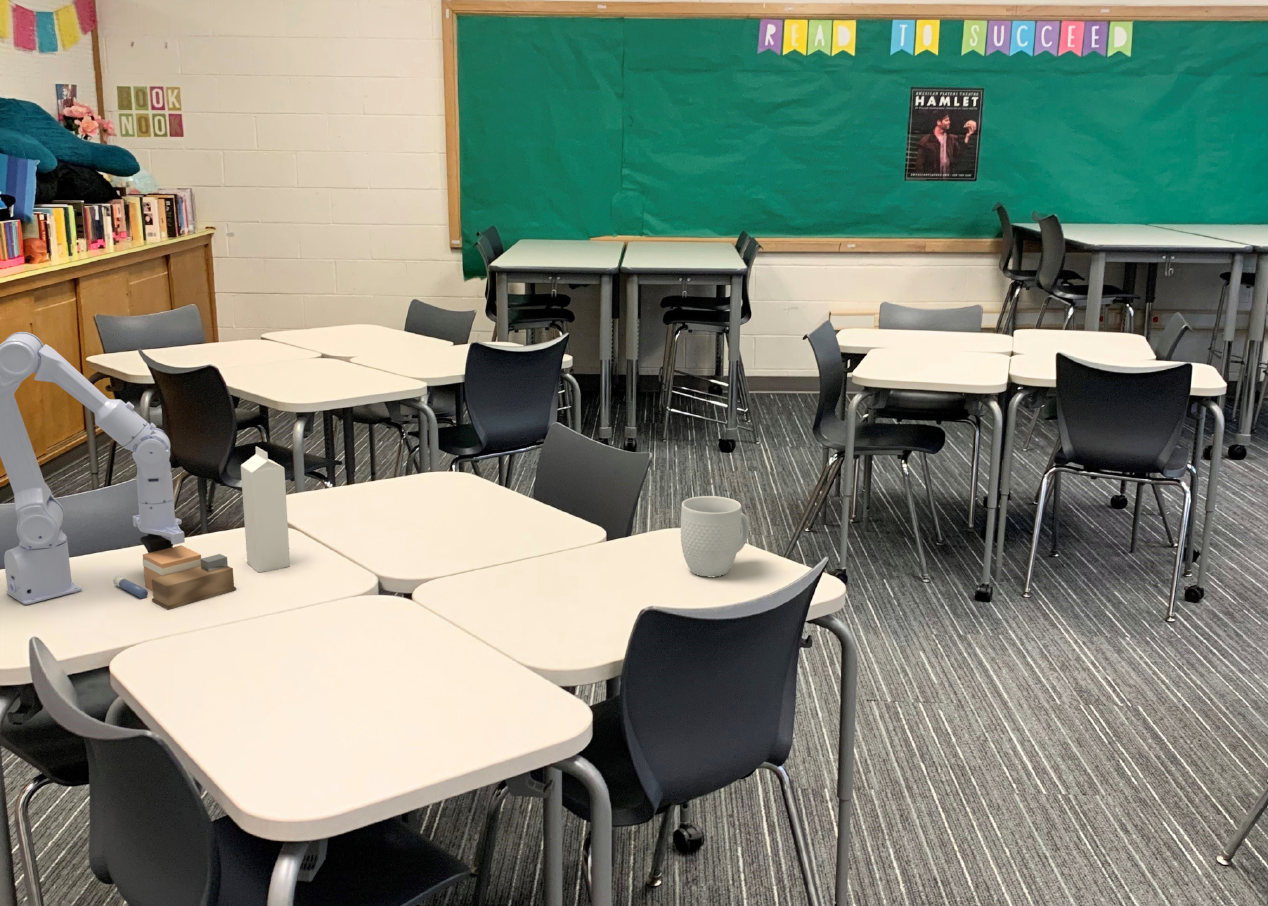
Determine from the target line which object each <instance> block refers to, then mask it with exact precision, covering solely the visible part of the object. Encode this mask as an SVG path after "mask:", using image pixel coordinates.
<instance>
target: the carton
mask: <svg viewBox="0 0 1268 906" xmlns="http://www.w3.org/2000/svg"><path fill="white" fill-rule="evenodd" d="M201 559H202V555H201V553H198V552H197V551H194V550H192V549H191V548H187V547H186V546H183V545H181V544H179V545H176V546H173V547H172V548H168V549H163V550H159V551H155V552H151V553H148V552H147V553H144V554H142V565H143V573H144V583H145V588H146V589H149V590H150V591H152V592H153V588H152V579H154V578H157V577H161V576H165V575H169V574H172V573H176V572H180V571H184V570H188V569H191V568H195V567H199V566H201Z"/></svg>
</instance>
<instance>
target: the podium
mask: <svg viewBox="0 0 1268 906" xmlns="http://www.w3.org/2000/svg"><path fill="white" fill-rule="evenodd" d="M152 588H153V591H152V597H153V598H151V602H152V603H155V604H156V605H158V606H160V607H162V608H164V609H165V610H168V611H169V610H172V609H175V608H179V607H182V606H186V605H190V604H192V603H196V602H199V601H203V600H206V599H210V598H213V597H216V596H220V595H223V594H228V593H231V592H234V591H236V590H237V587H236V586H235V579H234V569H233V567H230V566H229V565H228V567H226V568H222V569H218V570H214V571H211V572H207V571H205V570H203V569H201V566H199V567H195V568H191V569H188V570H184V571H180V572H176V573H172V574H169V575H165V576H161V577H157V578H154V579H152Z"/></svg>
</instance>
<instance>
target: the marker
mask: <svg viewBox="0 0 1268 906" xmlns="http://www.w3.org/2000/svg"><path fill="white" fill-rule="evenodd" d="M112 580H113V581H112V582H113V584H114V585H115V586H117V587H119V588H121V589H123V590H125V591H126V592H128V593H130V594H132V595H134V596H136V597H138V598H140V599H141V600H142V599H145V598H147V597H148V594H149V591H148V590H147V589H145V588H144V587H142V586H140V585H137V584H136V583H134V582H132V581H130V580H129V579H127V578H125V577H124V576H121V575H117V576H115V577H114V578H113V579H112Z"/></svg>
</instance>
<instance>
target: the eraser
mask: <svg viewBox="0 0 1268 906" xmlns="http://www.w3.org/2000/svg"><path fill="white" fill-rule="evenodd" d="M228 566H229V565H228V556H226V555H224V554H221V553H218V554H214V555H210V556H207V557H201V569H203V570H205V571H207V572H211V571H214V570H218V569H222V568H226V567H228Z"/></svg>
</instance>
